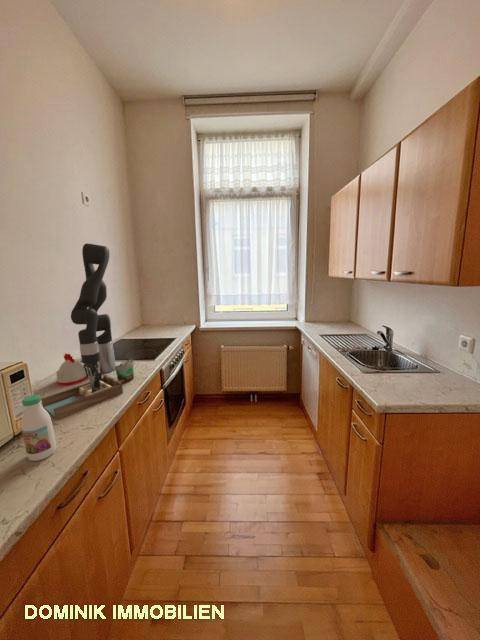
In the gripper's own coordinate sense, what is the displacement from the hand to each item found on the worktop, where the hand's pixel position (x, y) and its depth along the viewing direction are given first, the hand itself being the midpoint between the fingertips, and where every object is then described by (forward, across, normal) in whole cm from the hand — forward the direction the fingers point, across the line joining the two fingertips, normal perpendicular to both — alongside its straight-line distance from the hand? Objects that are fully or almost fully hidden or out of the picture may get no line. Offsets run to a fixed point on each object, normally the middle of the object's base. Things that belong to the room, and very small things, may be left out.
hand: (95, 386), depth 125 cm
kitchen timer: (+5, -30, +1) cm, 30 cm away
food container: (+5, -4, +19) cm, 20 cm away
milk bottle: (+5, +27, -29) cm, 40 cm away
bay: (+5, 0, -5) cm, 7 cm away
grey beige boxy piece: (+3, 0, 0) cm, 3 cm away
